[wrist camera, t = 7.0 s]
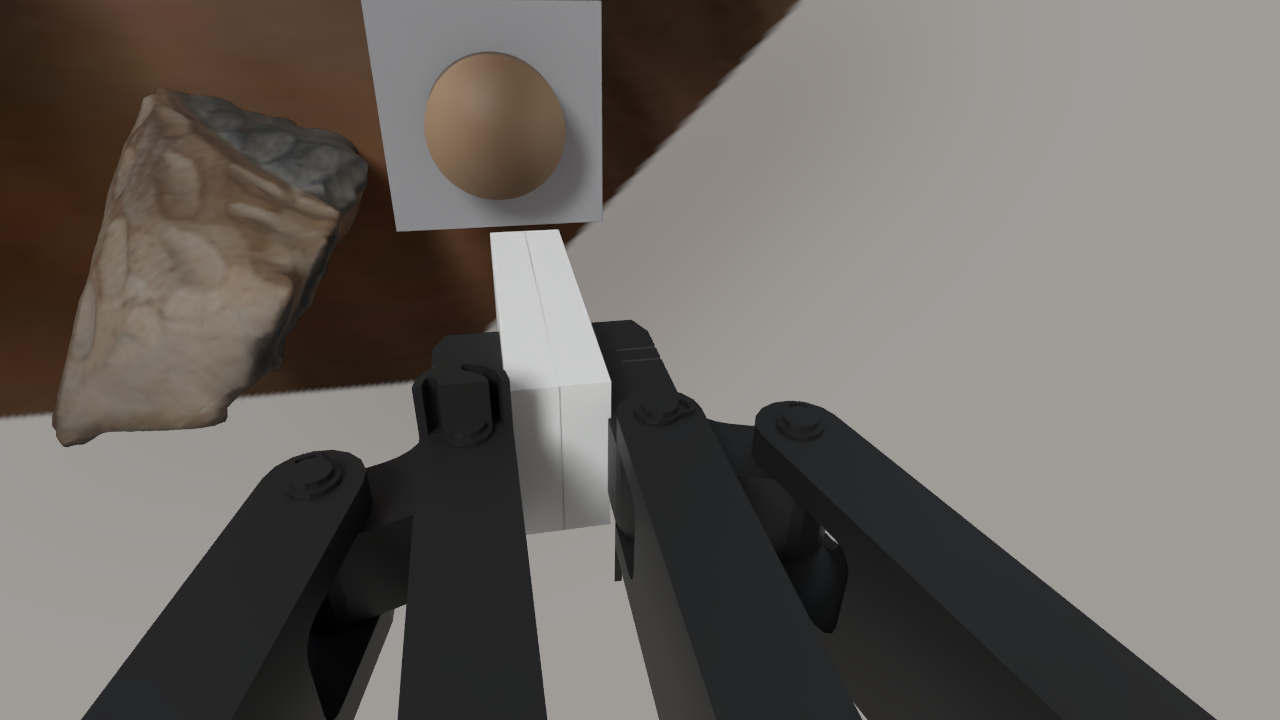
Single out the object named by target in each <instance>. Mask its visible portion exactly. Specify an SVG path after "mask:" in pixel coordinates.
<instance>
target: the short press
mask: <svg viewBox="0 0 1280 720" xmlns="http://www.w3.org/2000/svg"><path fill="white" fill-rule="evenodd" d="M361 3H362V10H363V16H364V23H365V29H366V36H367V42H368V49H369V55H370V62H371V68H372V75H373V81H374V88H375V94H376V101H377V107H378V114H379V120H380V127H381V133H382V139H383V146H384V152H385V159H386V165H387V172H388V178H389V185H390V191H391V198H392V204H393V211H394V217H395V224H396V230H397V232H398V231H418V230H438V229H458V228H478V227H498V226H517V225H537V224H557V223H577V222H597V221H602V15H601V1H600V0H361ZM487 51H491V52H501V53H506V54H509V55H512V56H515V57H517V58H519V59H521V60H523V61H525V62H526V63H528V64H529V65H531V66H532V67H533V68H534V69H536V70H537V71H538V72H539V73H540V74H541V75H542V76H543V78H544V79H545V80H546V82H547V83H548V84H549V86H550V87H551V89H552V91H553V92H554V94H555V95H556V97H557V99H558V101H559V103H560V106H561V109H562V112H563V116H564V120H565V130H566V132H565V144H564V149H563V153H562V156H561V159H560V161H559V163H558V165H557V167H556V168H555V170H554V172H553V173H552V174H551V175H550V177H549V178H548V179H547V180H546V181H545V182H544V183H543V184H542V185H541V186H539V187H538V188H536V189H535V190H533V191H531V192H530V193H528V194H525V195H523V196H520V197H517V198H513V199H506V200H490V199H484V198H480V197H476V196H474V195H471V194H469V193H467V192H465V191H463V190H461V189H459V188H458V187H457V186H455V185H454V184H453V183H451V182H450V181H449V180H448V179H447V178H446V177H445V176H444V175H443V174H442V173H441V171H440V170H439V169H438V167H437V166H436V164H435V163H434V161H433V159H432V157H431V155H430V153H429V150H428V147H427V144H426V138H425V132H424V119H425V112H426V107H427V102H428V97H429V94H430V92H431V89H432V87H433V85H434V83H435V81H436V80H437V78H438V77H439V76H440V74H441V73H442V72H443V71H444V70H445V69H446V68H447V67H448V66H449V65H451V64H452V63H453V62H455V61H456V60H458V59H460V58H462V57H464V56H467V55H470V54H473V53H478V52H487Z"/></svg>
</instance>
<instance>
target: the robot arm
mask: <svg viewBox="0 0 1280 720" xmlns="http://www.w3.org/2000/svg"><path fill="white" fill-rule="evenodd" d="M490 240H491V253H492V265H493V277H494V290H495V302H496V314H497V327H498V332H486V333H472V334H459V335H445V336H444V337H443V338H442V339H441V341H440V342H439V343H438V344H437V345H436V346H435V347H434V349H433V350H432V362H431V367H432V368H430V369H428V370H426V371H425V372H424V373H422V374H421V375H420V376H419V377H417V378H416V380H415V382H414V384H413V386H412V393H413V399H414V405H415V412H416V418H417V424H418V431H419V443H418V444H417V445H416V446H415V447H413V449H411V450H410V451H408V452H406V453H405V454H403V455H401V456H399V457H397V458H395V459H392V460H390V461H387V462H385V463H381V464H378V465H375V466H372V467H368V468H365V467H364V464H363V462H362V460H361V459H359V458H357V457H356V456H354V455H352V454H351V453H348V452H342V451H336V450H327V451H313V452H310V453H306V454H302V455H299V456H296V457H293V458H291V459H289V460H287V461H285V462H283V463H281V464H279V465H277V466H276V467H274V468H273V469H272V470H271V471H270V472H269V473H268V474H267V475H266V476H265V477H264V478H263V479H262V480H261V481H260V483H259V484H258V485H257V486H256V488H255V489H254V490H253V492H252V493H251V494H250V496H249V497H248V499H247V500H246V501H245V502H244V504H243V505H242V506H241V508H240V509H239V510H238V512H237V513H236V514H235V516H234V517H233V518H232V520H231V521H230V522H229V524H228V525H227V526H226V528H225V529H224V530H223V532H222V533H221V534H220V536H219V537H218V538H217V540H216V541H215V542H214V544H213V545H212V546H211V548H210V549H209V550H208V552H207V553H206V554H205V556H204V557H203V558H202V560H201V561H200V562H199V564H198V565H197V566H196V568H195V569H194V570H193V572H192V573H191V574H190V576H189V577H188V578H187V580H186V581H185V582H184V583H183V585H182V586H181V588H180V589H179V590H178V592H177V593H176V594H175V595H174V597H173V598H172V600H171V601H170V602H169V603H168V605H167V606H166V608H165V609H164V610H163V611H162V613H161V614H160V615H159V617H158V618H157V619H156V621H155V622H154V623H153V625H152V626H151V627H150V629H149V630H148V631H147V633H146V634H145V635H144V637H143V638H142V639H141V641H140V642H139V644H138V645H137V646H136V647H135V649H134V650H133V652H132V653H131V654H130V655H129V657H128V658H127V659H126V661H125V662H124V663H123V665H122V666H121V667H120V669H119V670H118V671H117V673H116V674H115V675H114V677H113V678H112V679H111V681H110V682H109V683H108V685H107V686H106V687H105V689H104V690H103V691H102V693H101V694H100V695H99V697H98V698H97V700H96V701H95V702H94V703H93V705H92V706H91V707H90V709H89V710H88V711H87V713H86V714H85V715H84V717H83V718H82V719H81V720H354V717H355V715H356V712H357V710H358V707H359V705H360V702H361V700H362V697H363V695H364V692H365V690H366V687H367V685H368V682H369V680H370V677H371V674H372V672H373V670H374V667H375V665H376V662H377V659H378V657H379V654H380V652H381V649H382V647H383V644H384V642H385V639H386V637H387V634H388V632H389V629H390V626H391V624H392V622H393V615H394V609H395V608H397V607H400V606H402V605H405V604H407V605H406V618H405V631H404V645H403V657H402V670H401V683H400V696H399V709H398V720H547V714H546V705H545V697H544V688H543V679H542V670H541V662H540V654H539V645H538V636H537V628H536V619H535V610H534V602H533V593H532V585H531V576H530V568H529V558H528V550H527V541H526V535H527V534H535V533H543V532H551V531H558V530H566V529H574V528H581V527H589V526H597V525H604V524H610V502H611V506H612V510H613V513H614V517H615V521H616V523H615V524H616V525H615V527H616V528H615V581H621V579H622V575H623V579H624V583H625V587H626V591H627V595H628V599H629V603H630V606H631V611H632V614H633V618H634V622H635V626H636V630H637V634H638V638H639V642H640V645H641V650H642V654H643V658H644V662H645V666H646V670H647V673H648V677H649V681H650V685H651V689H652V693H653V697H654V701H655V705H656V709H657V713H658V717H659V720H862V718H861V716H860V715H859V713H858V711H857V709H856V707H855V705H856V706H857V707H858V708H859V710H860V711H861V712H862V713H863V715H864V716H865V717H866V718H867V720H1216V719H1215V718H1214V717H1213V716H1211V715H1210V714H1209V713H1208V712H1206V711H1205V710H1204V709H1203V708H1201V707H1200V706H1199V705H1198V704H1196V703H1195V702H1194V701H1192V700H1191V699H1190V698H1189V697H1187V696H1186V695H1185V694H1184V693H1182V692H1181V691H1180V690H1179V689H1178V688H1176V687H1175V686H1174V685H1173V684H1171V683H1170V682H1169V681H1168V680H1166V679H1165V678H1164V677H1162V676H1161V675H1160V674H1159V673H1158V672H1156V671H1155V670H1154V669H1153V668H1151V667H1150V666H1149V665H1147V664H1146V663H1145V662H1144V661H1142V660H1141V659H1140V658H1139V657H1137V656H1136V655H1135V654H1134V653H1132V652H1131V651H1130V650H1129V649H1127V648H1126V647H1125V646H1123V645H1122V644H1121V643H1120V642H1119V641H1117V640H1116V639H1115V638H1114V637H1112V636H1111V635H1110V634H1109V633H1107V632H1106V631H1105V630H1104V629H1102V628H1101V627H1100V626H1099V625H1097V624H1096V623H1095V622H1094V621H1092V620H1091V619H1090V618H1089V617H1087V616H1086V615H1085V614H1084V613H1082V612H1081V611H1080V610H1078V609H1077V608H1076V607H1075V606H1073V605H1072V604H1071V603H1070V602H1068V601H1067V600H1066V599H1065V598H1063V597H1062V596H1061V595H1060V594H1059V593H1057V592H1056V591H1055V590H1054V589H1052V588H1051V587H1050V586H1048V585H1047V584H1046V583H1045V582H1043V581H1042V580H1041V579H1040V578H1038V577H1037V576H1036V575H1035V574H1033V573H1032V572H1031V571H1030V570H1028V569H1027V568H1026V567H1025V566H1023V565H1022V564H1021V563H1020V562H1018V561H1017V560H1016V559H1015V558H1013V557H1012V556H1011V555H1010V554H1008V553H1007V552H1006V551H1005V550H1003V549H1002V548H1001V547H1000V546H998V545H997V544H996V543H994V542H993V541H992V540H991V539H990V538H988V537H987V536H986V535H985V534H983V533H982V532H981V531H980V530H978V529H977V528H976V527H974V526H973V525H972V524H971V523H969V522H968V521H967V520H966V519H964V518H963V517H962V516H961V515H960V514H958V513H957V512H956V511H955V510H953V509H952V508H951V507H949V506H948V505H947V504H945V503H944V502H943V501H942V500H941V499H939V498H938V497H937V496H936V495H934V494H933V493H932V492H931V491H929V490H928V489H927V488H926V487H924V486H923V485H922V484H921V483H919V482H918V481H917V480H916V479H914V478H913V477H912V476H911V475H909V474H908V473H907V472H906V471H904V470H903V469H902V468H901V467H899V466H898V465H897V464H896V463H894V462H893V461H892V460H891V459H889V458H888V457H887V456H886V455H884V454H883V453H882V452H880V451H879V450H878V449H877V448H876V447H874V446H873V445H872V444H871V443H869V442H868V441H867V440H866V439H864V438H863V437H862V436H860V435H859V434H858V433H857V432H856V431H854V430H853V429H852V428H850V427H849V426H848V425H847V424H845V423H844V422H843V421H842V420H840V419H839V418H838V417H836V416H835V415H834V414H832V413H830V412H829V411H827V410H825V409H824V408H822V407H819V406H815V405H812V404H809V403H806V402H800V401H799V402H796V401H784V402H776V403H772V404H770V405H768V406H766V407H763V408H762V409H761V410H760V411H759V413H758V414H757V415H756V418H755V426H747V425H737V424H728V423H722V422H716V421H713V420H709V419H707V418H706V416H705V414H704V412H703V410H702V408H701V407H700V406H699V405H698V404H697V403H696V402H695V401H694V400H693V399H691V398H690V397H687V396H686V395H683V394H682V393H678V392H677V390H676V388H675V386H674V384H673V382H672V380H671V378H670V376H669V374H668V372H667V370H666V368H665V366H664V363H663V362H662V360H661V359H660V355H659V353H658V351H657V349H656V348H655V347H654V343H653V341H652V339H651V337H650V335H649V333H648V331H647V330H645V329H644V328H642V327H641V326H640V325H638V324H637V323H635V322H634V321H632V320H624V321H610V322H595V323H591V322H590V319H589V317H588V313H587V310H586V308H585V305H584V302H583V299H582V296H581V293H580V290H579V287H578V284H577V282H576V279H575V276H574V273H573V270H572V267H571V264H570V261H569V259H568V256H567V253H566V250H565V247H564V244H563V241H562V238H561V235H560V233H559V230H537V231H515V232H494V233H490ZM825 530H826V531H827V532H828V533H829V534H830V535H831V536H832V537H833V538H834V539H835V540H836V541H837V543H838V544H837V543H836V542H834V541H833V540H832V539H831V538H830V537H829V536H828V535H827V534H826V533H825ZM853 702H854V703H855V705H854V703H853Z"/></svg>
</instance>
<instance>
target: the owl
mask: <svg viewBox="0 0 1280 720" xmlns="http://www.w3.org/2000/svg"><path fill="white" fill-rule="evenodd" d="M367 173H368V163H367V162H366V161H365V160H364V159H363V158H362V157H360V156H359V155H357V148H356V147H355V146H354V144H353V143H352V142H351V141H349V140H348V139H346V138H345V137H343V136H341V135H339V134H337V133H334V132H330V131H326V130H321V129H307V128H303V127H299V126H297V125H296V124H295V123H294V122H293V121H291V120H290V119H288V118H284V117H267V116H265V115H263V114H260V113H257V112H249V111H244V110H242V109H240V108H238V107H236V106H235V105H234V104H232V103H231V102H229V101H226V100H224V99H220V98H217V97H211V96H193V95H192V96H190V95H189V94H185V93H181V92H179V91H172V90H169V89H165V88H156V89H155V94H154V95H150V96H147V97H145V98H144V99H143V100H142V104H141V108H140V111H139V114H138V117H137V119H136V123H135V125H134V128H133V129H132V131H131V133H130V136H129V137H128V138H127V140H126V142H125V144H124V146H123V150H122V154H121V157H120V159H119V163H118V166H117V169H116V171H115V173H114V176H113V179H112V182H111V185H110V188H109V191H108V194H107V199H106V204H105V210H104V219H103V222H102V226H101V230H100V232H99V235H98V239H97V244H96V245H95V249H94V252H93V256H92V262H91V268H90V273H89V276H88V279H87V282H86V285H85V288H84V291H83V293H82V295H81V297H80V300H79V302H78V308H77V313H76V316H75V320H74V325H73V332H72V336H71V341H70V344H69V349H68V353H67V358H66V363H65V366H64V371H63V375H62V379H61V383H60V387H59V391H58V396H57V402H56V407H55V409H54V412H53V415H52V426H53V427H54V429H55V430H56V436H57V438H58V440H59V442H60V443H61V444H62V445H63V446H64V447H69V446H73V445H78V444H79V445H82V444H85V443H87V442H89V441H90V440H92V439H94V438H95V437H96V436H98V435H100V434H102V433H105V432H118V431H127V432H133V431H161V430H176V429H177V430H178V429H179V430H180V429H196V428H204V427H209V426H215V425H217V424H219V423H222V422H225V421H226V419H227V407H228V406H229V405H230V404H231V403H232V402H233V401H234V400H235V399H236V398H237V397H238V396H239V395H240V394H241V393H242V392H243V391H244V390H245V389H246V388H248V387H249V386H251V385H252V384H254V383H255V382H256V381H257V380H259V379H260V378H261V377H262V376H264V375H266V374H268V373H270V372H272V371H275V370H281V367H282V364H283V362H284V357H283V348H284V344H285V339H286V335H287V333H288V332H290V331H291V330H292V329H293V328H294V327H295V326H296V324H297V322H298V320H299V319H300V317H301V316H302V315H303V314H304V312H305V311H306V309H308V308H309V307H310V306H311V304H312V302H313V298H314V295H315V292H316V289H317V287H318V285H319V283H320V282H321V280H322V279H323V277H324V275H325V273H326V270H327V268H328V261H329V257H330V255H331V254H332V252H333V250H334V247H335V245H337V244H338V243H339V242H340V241H341V240H342V239H343V238H344V237H345V236H346V234H347V233H348V232H349V231H350V228H351V227H352V226H353V222H354V220H355V219H356V216H357V212H358V210H359V207H360V202H361V199H362V196H363V192H364V190H365V188H366V185H367Z"/></svg>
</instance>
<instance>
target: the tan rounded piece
mask: <svg viewBox="0 0 1280 720" xmlns="http://www.w3.org/2000/svg"><path fill="white" fill-rule="evenodd" d="M424 132H425V138H426V144H427V147H428V150H429V153H430V155H431V157H432V159H433V161H434V163H435V164H436V166H437V167H438V169H439V170H440V171H441V173H442V174H443V175H444V176H445V177H446V178H447V179H448V180H449V181H450V182H451V183H453V184H454V185H455V186H457V187H458V188H459V189H461V190H463V191H465V192H467V193H469V194H471V195H474V196H476V197H480V198H484V199H490V200H506V199H513V198H517V197H520V196H523V195H525V194H528V193H530V192H531V191H533V190H535V189H536V188H538V187H539V186H541V185H542V184H543V183H544V182H545V181H546V180H547V179H548V178H549V177H550V175H551V174H552V173H553V172H554V170H555V168H556V167H557V165H558V163H559V161H560V159H561V156H562V153H563V149H564V144H565V132H566V130H565V120H564V116H563V112H562V109H561V106H560V103H559V101H558V99H557V97H556V95H555V94H554V92H553V91H552V89H551V87H550V86H549V84H548V83H547V82H546V80H545V79H544V78H543V76H542V75H541V74H540V73H539V72H538V71H537V70H536V69H534V68H533V67H532V66H531V65H529V64H528V63H526V62H525V61H523V60H521V59H519V58H517V57H515V56H512V55H509V54H506V53H501V52H491V51H487V52H478V53H473V54H470V55H467V56H464V57H462V58H460V59H458V60H456V61H455V62H453V63H452V64H451V65H449V66H448V67H447V68H446V69H445V70H444V71H443V72H442V73H441V74H440V76H439V77H438V78H437V80H436V81H435V83H434V85H433V87H432V89H431V92H430V94H429V97H428V102H427V107H426V112H425V119H424Z"/></svg>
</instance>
